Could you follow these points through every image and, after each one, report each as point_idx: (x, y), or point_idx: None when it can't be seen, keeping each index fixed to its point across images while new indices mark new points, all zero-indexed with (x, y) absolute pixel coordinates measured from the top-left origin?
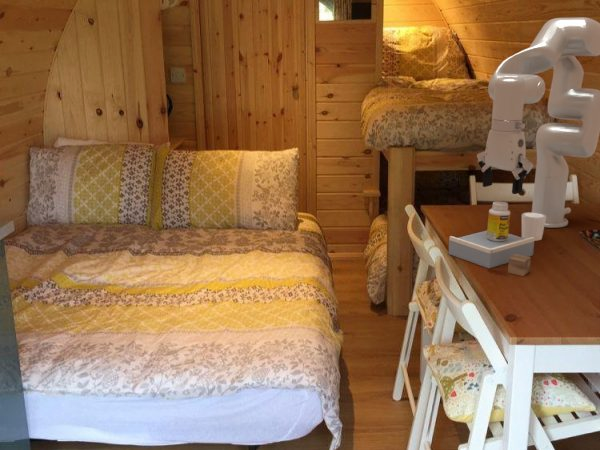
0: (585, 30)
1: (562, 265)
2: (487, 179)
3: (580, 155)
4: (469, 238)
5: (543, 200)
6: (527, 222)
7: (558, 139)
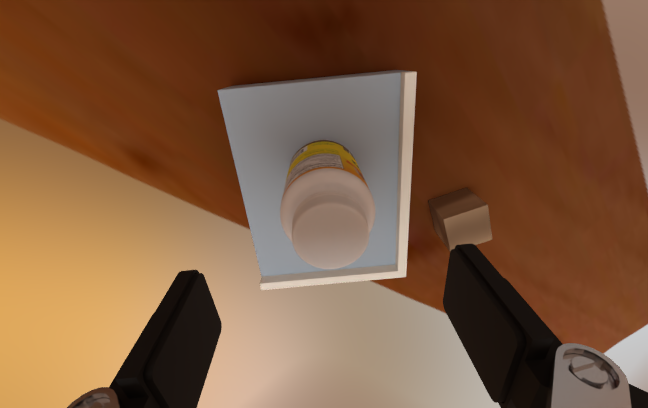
0: None
1: (508, 66)
2: (200, 357)
3: None
4: (276, 234)
5: None
6: None
7: None
